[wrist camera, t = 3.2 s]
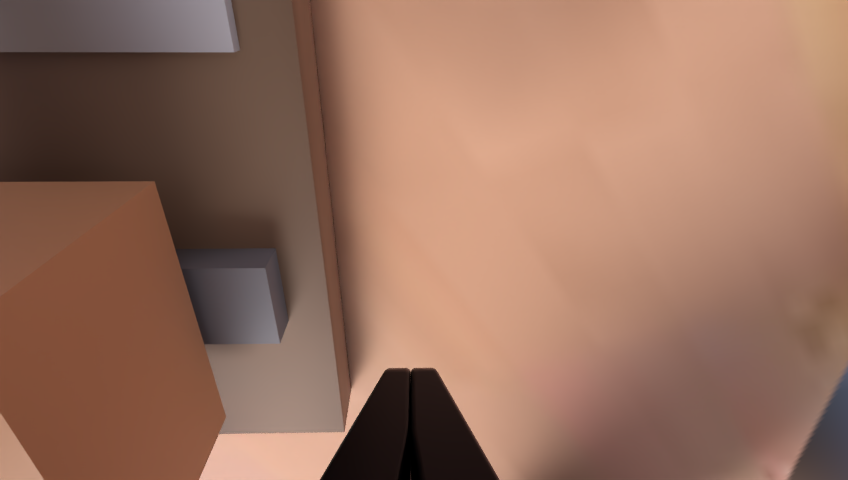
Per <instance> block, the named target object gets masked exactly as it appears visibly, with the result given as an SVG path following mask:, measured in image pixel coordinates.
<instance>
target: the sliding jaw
mask: <svg viewBox="0 0 848 480" xmlns="http://www.w3.org/2000/svg"><path fill="white" fill-rule="evenodd" d="M225 419H226V414H225V411H224V408H223V405H222V401H221V398H220V395H219V391H218V388H217V385H216V382H215V378H214V375H213V372H212V368H211V365H210V362H209V359H208V355H207V352H206V349H205V345H204V342H203V339H202V336H201V332H200V329H199V326H198V322H197V319H196V316H195V313H194V309H193V306H192V303H191V299H190V296H189V293H188V290H187V286H186V283H185V280H184V276H183V273H182V270H181V267H180V263H179V260H178V257H177V253H176V250H175V247H174V244H173V240H172V237H171V234H170V230H169V227H168V224H167V221H166V217H165V214H164V211H163V207H162V204H161V201H160V198H159V194H158V191H157V188H156V184H155V181H102V182H0V480H199V478H200V476H201V473H202V471H203V469H204V467H205V464H206V462H207V460H208V457H209V455H210V453H211V451H212V448H213V446H214V444H215V441H216V439H217V437H218V435H219V432H220V430H221V428H222V425H223V423H224V421H225Z"/></svg>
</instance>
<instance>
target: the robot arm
mask: <svg viewBox="0 0 848 480" xmlns="http://www.w3.org/2000/svg"><path fill="white" fill-rule="evenodd" d="M320 480H499V478H498V476H497V475H496V473H495V471H494V469H493V468H492V466H491V464H490V463H489V461H488V459H487V457H486V456H485V454H484V452H483V450H482V449H481V447H480V445H479V443H478V442H477V440H476V438H475V436H474V435H473V433H472V431H471V429H470V428H469V426H468V424H467V422H466V421H465V419H464V417H463V415H462V414H461V412H460V410H459V408H458V407H457V405H456V403H455V401H454V400H453V398H452V396H451V395H450V393H449V391H448V389H447V388H446V386H445V384H444V382H443V381H442V379H441V377H440V375H439V374H438V372H437V371H436V370H435V369H434V368H414V369H412V371H411V372H410V370H409V369H408V368H389V369H387V370H385V372H384V373H383V375H382V376H381V378H380V380H379V381H378V383H377V385H376V386H375V388H374V390H373V391H372V393H371V395H370V397H369V398H368V400H367V402H366V403H365V405H364V407H363V408H362V410H361V412H360V413H359V415H358V417H357V418H356V420H355V422H354V423H353V425H352V427H351V428H350V430H349V432H348V434H347V435H346V437H345V439H344V440H343V442H342V444H341V445H340V447H339V449H338V450H337V452H336V454H335V455H334V457H333V459H332V460H331V462H330V464H329V465H328V467H327V469H326V470H325V472H324V474H323V476H322V477H321V479H320Z"/></svg>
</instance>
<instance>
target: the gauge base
mask: <svg viewBox="0 0 848 480" xmlns="http://www.w3.org/2000/svg"><path fill="white" fill-rule="evenodd" d="M102 181H155V184H156V188H157V191H158V194H159V198H160V201H161V204H162V207H163V211H164V214H165V217H166V221H167V224H168V227H169V230H170V234H171V237H172V240H173V244H174V247H175V250H176V253H177V257H178V260H179V263H180V267H181V270H182V273H183V276H184V280H185V283H186V286H187V290H188V293H189V296H190V299H191V303H192V306H193V309H194V313H195V316H196V319H197V322H198V326H199V329H200V332H201V336H202V339H203V342H204V345H205V349H206V352H207V355H208V359H209V362H210V365H211V368H212V372H213V375H214V378H215V382H216V385H217V388H218V391H219V395H220V398H221V401H222V405H223V408H224V411H225V414H226V419H225V421H224V423H223V425H222V428H221V430H220V432H219V434H235V433H306V432H344V431H345V425H346V418H347V412H348V406H349V399H350V393H351V387H350V378H349V368H348V359H347V349H346V340H345V330H344V321H343V311H342V302H341V292H340V283H339V273H338V264H337V254H336V245H335V235H334V226H333V216H332V207H331V197H330V188H329V178H328V169H327V159H326V150H325V140H324V131H323V121H322V112H321V102H320V93H319V83H318V74H317V64H316V55H315V45H314V36H313V26H312V16H311V7H310V0H0V182H102Z"/></svg>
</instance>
